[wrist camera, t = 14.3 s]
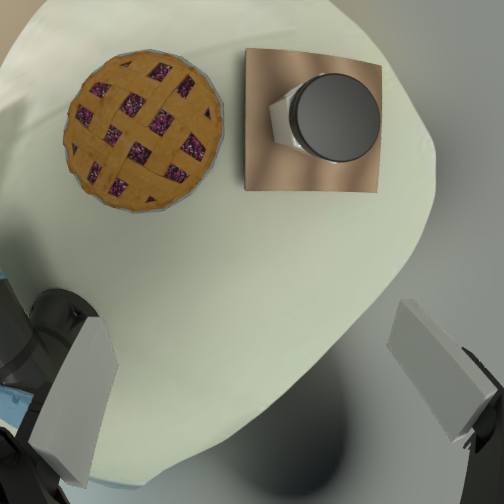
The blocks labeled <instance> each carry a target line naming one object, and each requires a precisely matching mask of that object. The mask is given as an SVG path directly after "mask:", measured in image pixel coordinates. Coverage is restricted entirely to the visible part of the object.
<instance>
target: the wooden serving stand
mask: <svg viewBox="0 0 504 504" xmlns="http://www.w3.org/2000/svg"><path fill="white" fill-rule="evenodd" d="M321 73H324V74H328V73H340V74H345V75H348V76H351V77H353V78H355V79H357V80H358V81H360V82H361V83H362V84H364V85H365V86H366V87H367V88H368V89H369V91H370V92H371V93H372V95H373V96H374V98H375V100H376V102H377V105H378V108H379V112H380V131H379V134H378V137H377V140H376V142H375V143H374V145H373V147H372V148H371V149H370V150H369V151H368V152H367V153H366V154H365V155H364V156H362V157H360V158H359V159H356V160H354V161H350V162H345V163H336V164H333V163H330V162H326V161H323V160H320V159H316V158H313V157H309V156H306V155H304V154H302V153H299V152H297V151H294V150H292V149H290V148H287V147H285V146H282V145H280V144H277V143H275V141H274V135H273V128H272V122H271V116H270V110H269V106H270V105H271V104H272V103H274V102H275V101H277V100H278V99H279V98H281V97H282V96H283V95H285V94H286V93H287V92H288V91H290V90H291V89H293V88H294V87H296V86H298V85H299V84H301V83H303V82H305V81H307V80H309V79H311V78H313V77H315V76H317V75H319V74H321ZM381 125H382V66H380V65H376V64H372V63H367V62H362V61H357V60H352V59H347V58H341V57H335V56H329V55H322V54H314V53H306V52H297V51H287V50H274V49H256V48H246V51H245V174H244V189H245V191H339V192H368V193H377V188H378V176H379V163H380V147H381Z"/></svg>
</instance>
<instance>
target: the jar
mask: <svg viewBox="0 0 504 504" xmlns="http://www.w3.org/2000/svg"><path fill="white" fill-rule="evenodd" d="M269 110H270V116H271V122H272V128H273V135H274V141H275V143H277V144H280V145H282V146H285V147H287V148H290V149H292V150H294V151H297V152H299V153H302V154H304V155H306V156H309V157H313V158H316V159H320V160H323V161H326V162H330V163H333V164H336V163H345V162H350V161H354V160H356V159H359V158H360V157H362V156H364V155H365V154H366V153H367V152H368V151H369V150H370V149H371V148H372V147H373V145H374V143H375V142H376V140H377V137H378V134H379V131H380V112H379V108H378V105H377V102H376V100H375V98H374V96H373V95H372V93H371V92H370V91H369V89H368V88H367V87H366V86H365V85H364V84H362V83H361V82H360V81H358V80H357V79H355V78H353V77H351V76H348V75H345V74H340V73H328V74H324V73H321V74H319V75H317V76H315V77H313V78H311V79H309V80H307V81H305V82H303V83H301V84H299V85H298V86H296V87H294V88H293V89H291V90H290V91H288V92H287V93H286V94H285V95H283V96H282V97H281V98H279V99H278V100H277V101H275V102H274V103H272V104H271V105H270V106H269Z"/></svg>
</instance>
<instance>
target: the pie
mask: <svg viewBox="0 0 504 504" xmlns="http://www.w3.org/2000/svg"><path fill="white" fill-rule="evenodd" d="M67 114H68V118H67V122H66V125H65V129H64V136H63V145H64V146H65V153H66V161H67V165H68V168H69V171H70V173H72V174H74V176H75V177H76V179H77V181H78V183H79V184H80V186H81V188H82V189H83V190H84V191H85V192H86V193H87V194H90V195H93V196H94V197H95V198H96V199H98V200H99V201H100V202H102V203H103V204H104V205H108V206H111V207H113V208H117V209H120V210H124V211H127V212H130V213H143V212H155V211H164V210H166V209H167V208H169V207H171V206H172V205H174V204H176V203H177V202H179V201H181V200H183V199H184V198H186V197H188V196H190V195H191V194H192V193H193V191H194V190H195V189H196V188H197V186H198V185H199V184H200V183H201V181H202V180H203V179H204V178H205V177H206V175H207V174H208V173H209V172H210V170H211V169H212V168H213V165H214V162H215V160H216V157H217V154H218V152H219V149H220V146H221V144H222V141H223V138H224V104H223V102H222V100H221V98H220V96H219V95H218V93H217V91H216V89H215V87H214V86H213V84H212V82H211V80H210V79H209V77H208V76H207V75H206V74H205V73H203V72H202V71H201V70H199V69H198V68H197V67H195V66H194V65H192V64H191V63H190V62H188V61H187V60H185V59H184V58H183V57H180V56H177V55H173V54H169V53H165V52H160V51H156V50H151V49H148V50H142V51H135V52H130V53H124V54H119V55H117V56H115V57H113V58H112V59H110V60H109V61H107V62H106V63H105V64H104V65H103V66H101V67H100V68H98V69H97V70H95V71H94V72H93V73H92V74H91V75H90V76H89V77H88V78H87V79H86V81H85V82H84V83H83V84H82V87H81V89H80V91H79V92H78V94H77V95H76V96H75V98H74V100H73V101H72V102H71V105H70V107H69V110H68V113H67Z"/></svg>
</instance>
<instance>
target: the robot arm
mask: <svg viewBox="0 0 504 504" xmlns="http://www.w3.org/2000/svg"><path fill="white" fill-rule="evenodd" d="M7 278H8V277H7V276H6V275H5V274H4V272H3V271H2V269H1V267H0V418H1V419H2V420H4V421H5V422H7V423H8V424H10V425H11V426H13V427H15V428H17V429H18V431H17V433H16V436H15V438H14V436H13V435H12V434H11V433H10V431H9V430H7V429H6V428H4V427H0V504H70V503H69V501H68V499H67V498H66V496H65V494H64V492H63V490H62V488H61V487H60V486H59V485H58V484H59V480H60V478H61V479H62V480H63V481H64V482H66V483H67V484H68V485H72V486H76V487H81V488H85V489H86V488H87V483H88V478H89V474H90V469H91V464H92V460H93V456H94V451H95V447H96V443H97V439H98V435H99V431H100V427H101V423H102V420H103V416H104V412H105V409H106V405H107V402H108V398H109V395H110V391H111V388H112V385H113V381H114V378H115V375H116V372H117V369H118V363H117V360H116V357H115V353H114V350H113V347H112V344H111V341H110V338H109V334H108V331H107V327H106V324H105V320H104V317H99V316H98V314H97V313H96V312H95V310H94V309H93V308H92V307H91V306H90V305H89V304H88V303H87V302H86V301H85V300H84V299H82V298H81V297H79V296H78V295H76V294H74V293H72V292H69V291H66V290H62V289H51V290H47V291H45V292H43V293H42V294H41V295H40V296H39V297H38V298H37V299H36V301H35V302H34V303H33V305H32V307H31V310H30V314H29V318H28V317H27V315H26V314H25V312H24V310H23V308H22V306H21V305H20V303H19V301H18V299H17V297H16V295H15V293H14V291H13V289H12V287H11V285H10V283H9V281H8V279H7ZM387 347H388V349H389V350H390V352H391V353H392V354H393V356H394V357H395V358H396V360H397V361H398V363H399V364H400V366H401V367H402V369H403V370H404V371H405V373H406V374H407V376H408V377H409V378H410V380H411V382H412V383H413V385H414V386H415V387H416V389H417V390H418V392H419V393H420V395H421V396H422V398H423V399H424V401H425V402H426V404H427V405H428V407H429V408H430V410H431V411H432V413H433V415H434V416H435V418H436V419H437V421H438V422H439V424H440V425H441V427H442V428H443V430H444V431H445V433H446V435H447V436H448V438H449V439H450V441H451V442H452V443H453V442H455V441H457V440H458V439H461V438H462V437H464V436H465V435H466V434H467V433H468V432H469V430H470V429H471V428H473V429H474V430H475V432H474V433H473V434H472V435H471V437H470V438H469V439H468V440H467V442H466V443H465V444H464V447H463V448H464V449H465V448H466V447H467V446H468V444H469V443H470V442H471V446H470V447H469V450H470V454H469V461H468V466H467V472H466V478H465V483H464V488H463V493H462V497H461V501H460V504H504V388H503V387H502V386H501V385H500V383H499V382H498V381H497V380H496V379H495V378H494V376H493V375H492V374H491V373H490V372H489V371H488V370H487V369H486V368H484V365H483V364H482V363H481V362H479V360H478V359H477V358H476V357H475V356H474V354H473V353H471V352H470V351H468V350H467V349H465V348H464V347H462V348H460V346H459V345H458V344H457V343H456V342H455V341H454V340H453V339H452V338H451V337H450V336H449V335H448V334H447V333H446V332H445V331H444V330H443V329H442V328H441V327H440V326H439V325H438V323H437V322H436V321H435V320H434V319H433V318H432V317H431V316H430V315H429V314H428V313H427V312H426V311H425V310H424V309H423V308H422V307H420V305H419V304H418V303H417V302H416V301H415V300H414V299H413V298H410V299H403V300H400V301H399V304H398V308H397V312H396V316H395V319H394V323H393V326H392V329H391V333H390V336H389V339H388V343H387Z"/></svg>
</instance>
